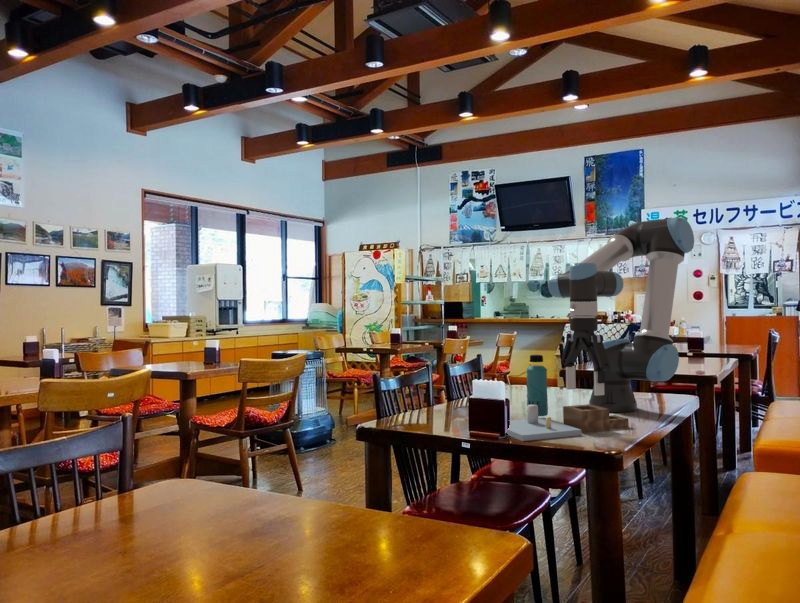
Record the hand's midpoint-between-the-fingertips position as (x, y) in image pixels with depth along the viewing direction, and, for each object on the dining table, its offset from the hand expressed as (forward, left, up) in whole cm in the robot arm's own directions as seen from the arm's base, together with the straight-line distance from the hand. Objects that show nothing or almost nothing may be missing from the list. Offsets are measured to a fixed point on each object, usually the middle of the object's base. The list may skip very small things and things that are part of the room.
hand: (584, 392), depth 174 cm
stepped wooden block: (-4, 0, -11) cm, 11 cm away
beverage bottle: (+5, -18, -11) cm, 22 cm away
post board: (+15, -3, -11) cm, 18 cm away
